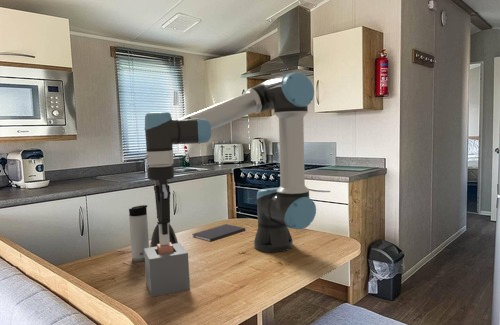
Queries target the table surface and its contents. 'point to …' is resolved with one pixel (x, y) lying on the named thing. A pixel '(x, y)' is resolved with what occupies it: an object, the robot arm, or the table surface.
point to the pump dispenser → (155, 236)
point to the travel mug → (138, 232)
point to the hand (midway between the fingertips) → (164, 244)
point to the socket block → (167, 270)
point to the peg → (164, 248)
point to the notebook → (218, 232)
